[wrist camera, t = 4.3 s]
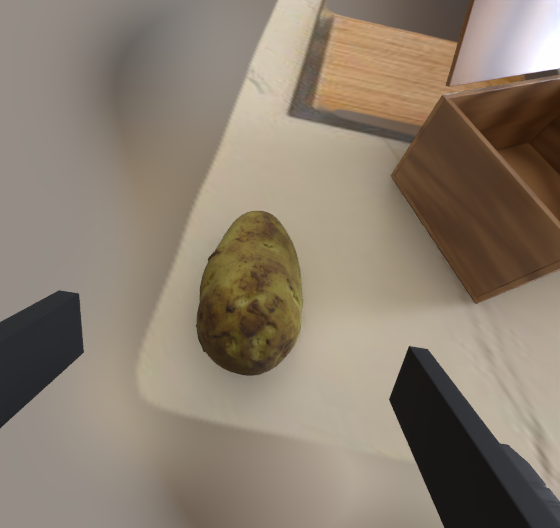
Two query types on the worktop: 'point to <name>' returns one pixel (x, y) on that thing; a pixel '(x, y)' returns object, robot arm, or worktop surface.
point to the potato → (251, 296)
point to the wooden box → (490, 183)
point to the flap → (506, 40)
